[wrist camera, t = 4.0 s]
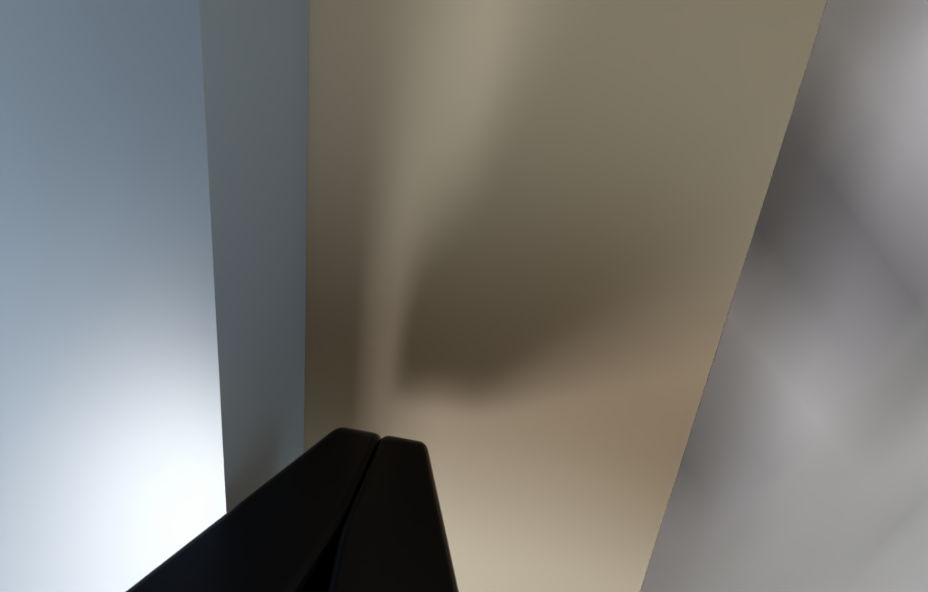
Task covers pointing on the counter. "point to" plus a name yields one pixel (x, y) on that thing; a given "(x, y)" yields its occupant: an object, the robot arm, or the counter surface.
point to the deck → (537, 252)
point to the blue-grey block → (146, 276)
